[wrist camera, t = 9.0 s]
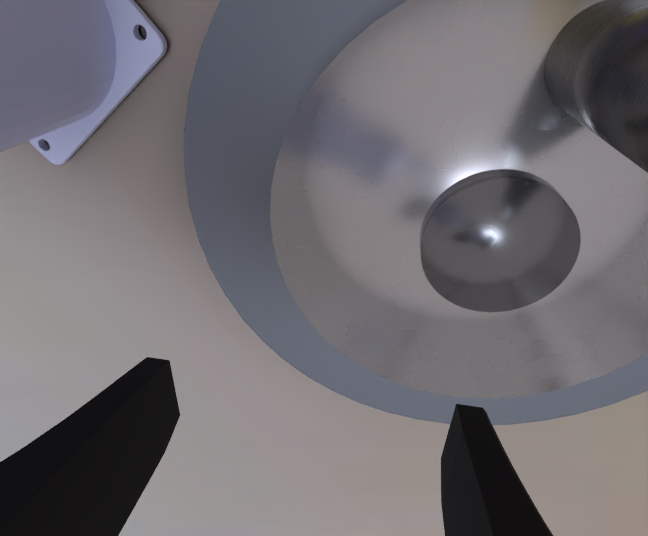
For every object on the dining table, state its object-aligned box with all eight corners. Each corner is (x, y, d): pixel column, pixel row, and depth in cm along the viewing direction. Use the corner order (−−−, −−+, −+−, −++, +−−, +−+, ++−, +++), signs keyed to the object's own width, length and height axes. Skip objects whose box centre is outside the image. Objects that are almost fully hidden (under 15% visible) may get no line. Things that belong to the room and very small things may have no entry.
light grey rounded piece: (555, 415, 22) (619, 589, 15) (241, 305, 21) (172, 441, 15) (972, -16, 12) (1648, -23, 5) (398, -256, 11) (394, -594, 5)
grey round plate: (157, 301, 24) (117, 352, 21) (308, -396, 11) (268, -561, 8) (551, 456, 26) (574, 526, 22) (1074, 11, 13) (1311, 19, 10)
